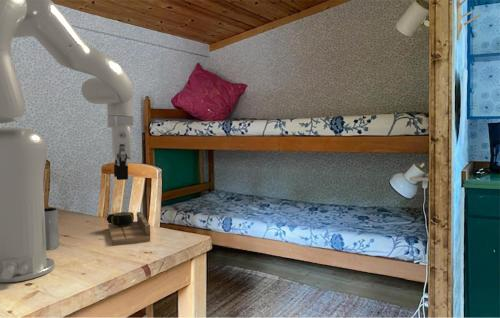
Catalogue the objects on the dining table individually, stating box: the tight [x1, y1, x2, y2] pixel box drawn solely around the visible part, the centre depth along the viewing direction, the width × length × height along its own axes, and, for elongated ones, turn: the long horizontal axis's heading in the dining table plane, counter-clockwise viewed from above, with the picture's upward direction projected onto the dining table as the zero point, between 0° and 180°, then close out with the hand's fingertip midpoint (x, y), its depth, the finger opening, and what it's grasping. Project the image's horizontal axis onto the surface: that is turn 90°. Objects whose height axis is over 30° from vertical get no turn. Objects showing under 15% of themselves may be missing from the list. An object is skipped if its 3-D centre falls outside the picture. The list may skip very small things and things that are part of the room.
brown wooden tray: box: [107, 211, 151, 246], centre depth 111 cm, size 19×10×4 cm, turn 24°
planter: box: [44, 207, 60, 251], centre depth 99 cm, size 4×4×10 cm
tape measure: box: [106, 211, 135, 226], centre depth 116 cm, size 7×7×4 cm
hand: (120, 178), depth 115 cm, fingers open, 9 cm apart
